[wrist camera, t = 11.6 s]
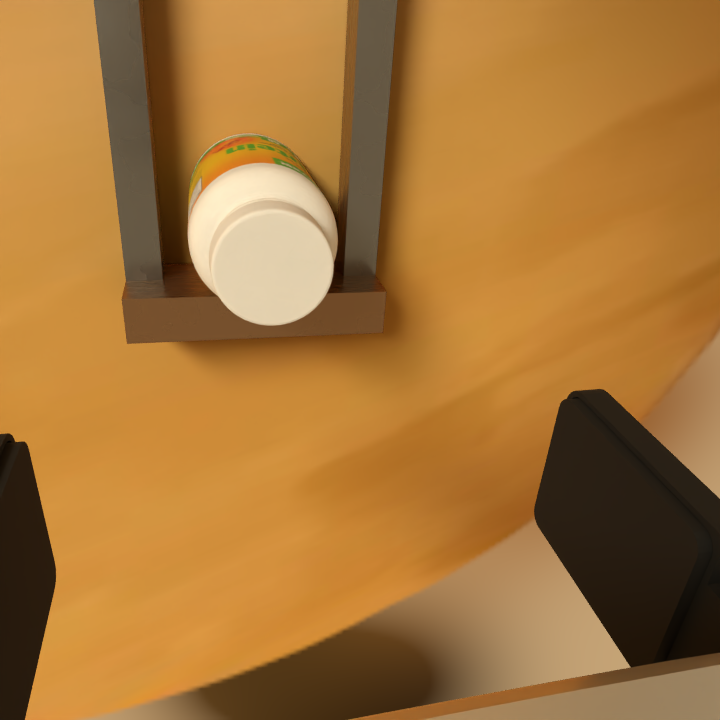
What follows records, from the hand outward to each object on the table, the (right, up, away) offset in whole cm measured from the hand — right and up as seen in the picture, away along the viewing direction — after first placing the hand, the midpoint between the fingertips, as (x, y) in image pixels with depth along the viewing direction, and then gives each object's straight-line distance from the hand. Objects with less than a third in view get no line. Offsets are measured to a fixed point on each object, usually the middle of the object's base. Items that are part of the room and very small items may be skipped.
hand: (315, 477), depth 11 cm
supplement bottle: (-4, +10, +18) cm, 21 cm away
